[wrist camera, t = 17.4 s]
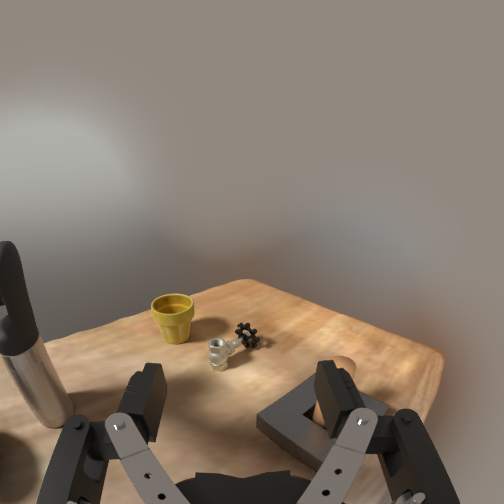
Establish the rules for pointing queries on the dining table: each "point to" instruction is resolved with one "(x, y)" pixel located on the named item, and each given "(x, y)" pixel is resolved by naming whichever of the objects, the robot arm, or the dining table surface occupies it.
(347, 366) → the peg
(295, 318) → the dining table surface
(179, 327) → the plant pot
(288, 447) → the socket block
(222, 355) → the valve
